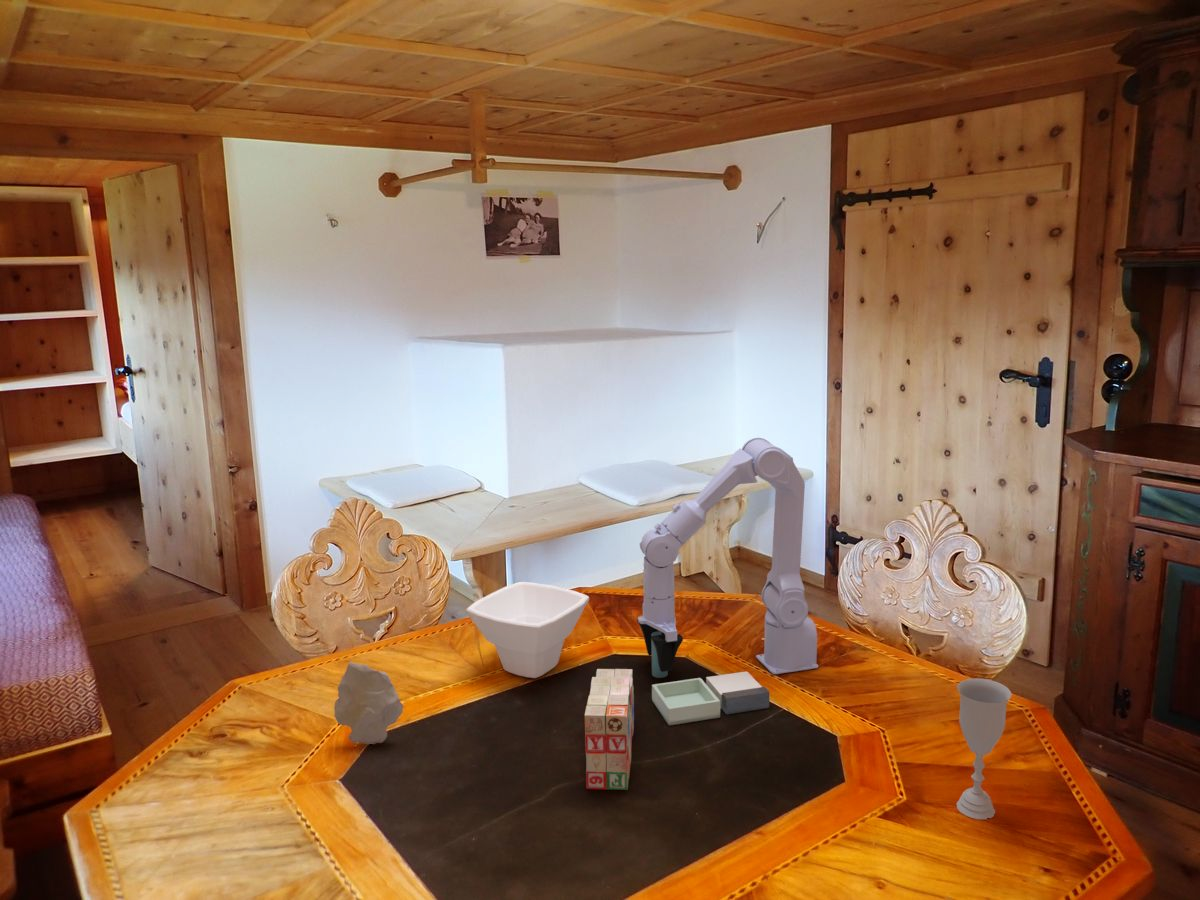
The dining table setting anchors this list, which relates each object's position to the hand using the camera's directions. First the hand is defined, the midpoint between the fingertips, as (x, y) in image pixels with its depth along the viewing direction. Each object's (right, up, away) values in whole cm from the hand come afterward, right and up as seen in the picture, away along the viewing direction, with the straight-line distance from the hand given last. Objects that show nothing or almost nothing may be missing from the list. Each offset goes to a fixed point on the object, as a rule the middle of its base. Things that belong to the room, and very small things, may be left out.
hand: (659, 662), depth 168 cm
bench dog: (+14, -5, -13) cm, 20 cm away
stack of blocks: (-9, -8, -26) cm, 29 cm away
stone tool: (-49, -8, -22) cm, 54 cm away
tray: (+4, -5, -13) cm, 14 cm away
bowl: (-24, -3, +3) cm, 25 cm away
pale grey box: (+13, -4, -9) cm, 16 cm away
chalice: (+42, -11, -43) cm, 60 cm away
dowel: (0, -2, 0) cm, 2 cm away
